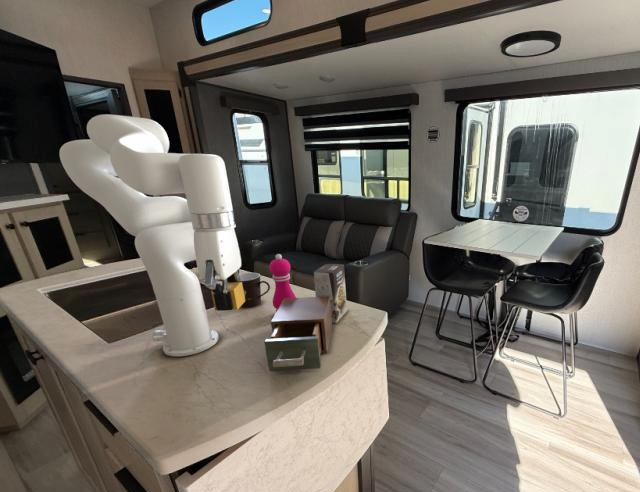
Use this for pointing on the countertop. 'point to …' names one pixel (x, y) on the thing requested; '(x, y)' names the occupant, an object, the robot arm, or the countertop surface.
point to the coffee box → (332, 288)
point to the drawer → (294, 347)
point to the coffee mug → (252, 289)
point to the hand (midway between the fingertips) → (230, 303)
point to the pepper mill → (281, 280)
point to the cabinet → (306, 314)
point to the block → (234, 294)
